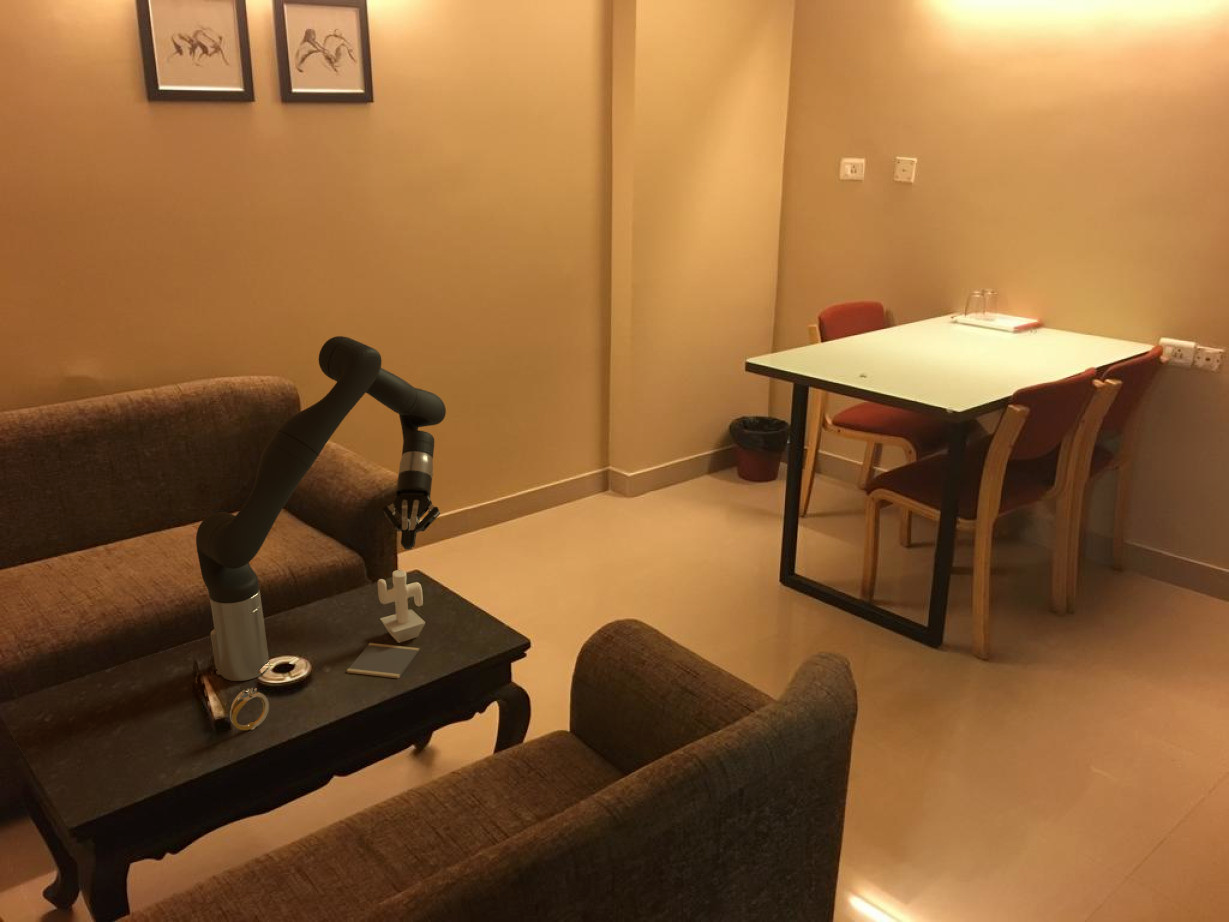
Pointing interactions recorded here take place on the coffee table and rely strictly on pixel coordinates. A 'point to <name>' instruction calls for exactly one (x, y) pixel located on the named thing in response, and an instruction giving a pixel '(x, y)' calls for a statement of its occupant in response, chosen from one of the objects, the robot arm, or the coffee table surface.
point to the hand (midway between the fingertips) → (407, 548)
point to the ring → (245, 696)
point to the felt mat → (383, 660)
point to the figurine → (401, 607)
